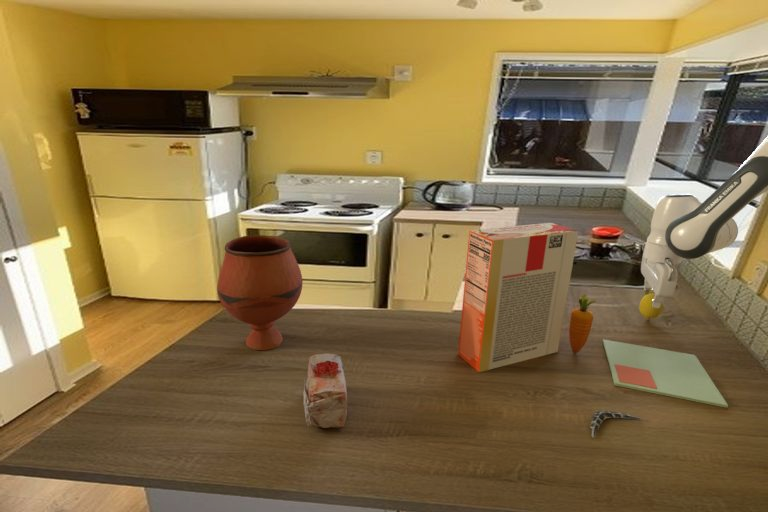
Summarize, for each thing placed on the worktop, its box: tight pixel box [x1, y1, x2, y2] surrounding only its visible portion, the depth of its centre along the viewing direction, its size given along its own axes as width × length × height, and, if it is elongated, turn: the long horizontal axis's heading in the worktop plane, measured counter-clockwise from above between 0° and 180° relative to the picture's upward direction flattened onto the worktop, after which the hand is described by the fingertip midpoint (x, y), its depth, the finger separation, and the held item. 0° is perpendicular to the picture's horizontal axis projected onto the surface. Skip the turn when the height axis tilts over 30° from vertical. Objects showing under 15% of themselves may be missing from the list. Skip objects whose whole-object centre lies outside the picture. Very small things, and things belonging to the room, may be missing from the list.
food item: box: [302, 352, 348, 429], centre depth 78 cm, size 14×8×10 cm, turn 11°
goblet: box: [216, 234, 304, 351], centre depth 99 cm, size 19×19×25 cm
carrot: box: [568, 293, 597, 354], centre depth 99 cm, size 5×5×15 cm
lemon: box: [638, 292, 664, 320], centre depth 119 cm, size 6×6×8 cm
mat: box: [601, 338, 729, 409], centre depth 95 cm, size 20×20×1 cm
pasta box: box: [457, 222, 579, 373], centre depth 96 cm, size 23×8×30 cm, turn 114°
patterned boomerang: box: [589, 409, 644, 438], centre depth 78 cm, size 13×1×5 cm
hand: (651, 300), depth 118 cm, fingers open, 8 cm apart
